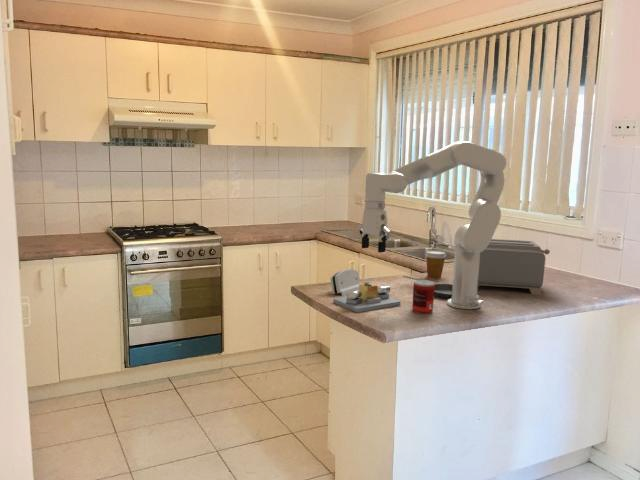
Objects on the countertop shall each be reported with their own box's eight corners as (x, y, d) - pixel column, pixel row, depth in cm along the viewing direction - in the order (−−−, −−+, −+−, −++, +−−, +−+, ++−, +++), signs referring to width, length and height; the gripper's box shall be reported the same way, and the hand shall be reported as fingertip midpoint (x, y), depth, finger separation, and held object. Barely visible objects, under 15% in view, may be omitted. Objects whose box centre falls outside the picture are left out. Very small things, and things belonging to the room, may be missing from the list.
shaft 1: (353, 304, 217) (353, 288, 216) (362, 306, 215) (363, 290, 214) (344, 307, 212) (345, 291, 211) (354, 309, 210) (355, 294, 209)
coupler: (366, 302, 215) (367, 285, 214) (358, 299, 219) (359, 282, 218) (376, 300, 217) (377, 284, 216) (368, 297, 222) (369, 281, 220)
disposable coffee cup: (437, 274, 273) (438, 250, 271) (448, 279, 264) (450, 253, 262) (420, 275, 270) (421, 250, 268) (430, 280, 261) (432, 254, 259)
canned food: (430, 307, 216) (432, 279, 214) (435, 314, 208) (437, 285, 206) (410, 307, 215) (411, 279, 214) (414, 313, 208) (416, 284, 206)
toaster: (550, 295, 241) (555, 248, 237) (466, 289, 246) (470, 243, 242) (540, 285, 259) (545, 241, 256) (462, 279, 264) (465, 236, 261)
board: (375, 295, 230) (375, 288, 230) (400, 305, 218) (400, 297, 218) (333, 302, 219) (333, 294, 218) (356, 312, 206) (357, 304, 206)
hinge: (342, 296, 228) (336, 272, 228) (333, 298, 231) (327, 274, 231) (365, 288, 241) (359, 265, 242) (356, 290, 244) (350, 267, 245)
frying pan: (455, 303, 224) (456, 294, 223) (390, 287, 246) (390, 279, 245) (477, 295, 237) (478, 287, 236) (414, 281, 258) (414, 273, 258)
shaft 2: (383, 299, 226) (384, 284, 225) (391, 301, 222) (391, 286, 221) (371, 301, 222) (372, 286, 221) (378, 303, 219) (379, 288, 218)
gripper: (397, 207, 209) (395, 252, 212) (367, 202, 223) (366, 245, 226) (382, 208, 205) (380, 254, 208) (352, 203, 219) (351, 247, 222)
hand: (373, 249), depth 217 cm, fingers open, 9 cm apart
